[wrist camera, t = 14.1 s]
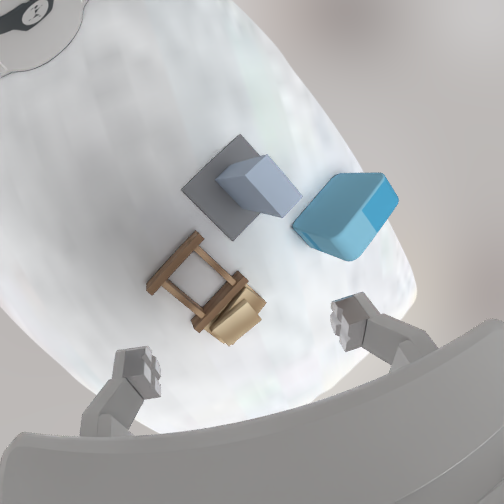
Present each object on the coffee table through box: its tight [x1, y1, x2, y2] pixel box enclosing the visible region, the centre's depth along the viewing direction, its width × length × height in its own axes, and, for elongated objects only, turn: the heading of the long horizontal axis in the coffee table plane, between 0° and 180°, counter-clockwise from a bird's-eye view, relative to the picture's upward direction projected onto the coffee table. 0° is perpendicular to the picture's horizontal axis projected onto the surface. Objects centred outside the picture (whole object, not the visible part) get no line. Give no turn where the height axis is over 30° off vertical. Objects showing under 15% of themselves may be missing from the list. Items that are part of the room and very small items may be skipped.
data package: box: [293, 173, 399, 261], centre depth 39 cm, size 12×4×12 cm, turn 136°
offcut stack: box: [204, 284, 267, 346], centre depth 41 cm, size 5×9×4 cm, turn 134°
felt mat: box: [182, 134, 260, 241], centre depth 39 cm, size 10×11×1 cm
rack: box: [146, 230, 248, 333], centre depth 39 cm, size 10×10×3 cm
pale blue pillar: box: [215, 154, 303, 218], centre depth 33 cm, size 6×3×13 cm, turn 44°
